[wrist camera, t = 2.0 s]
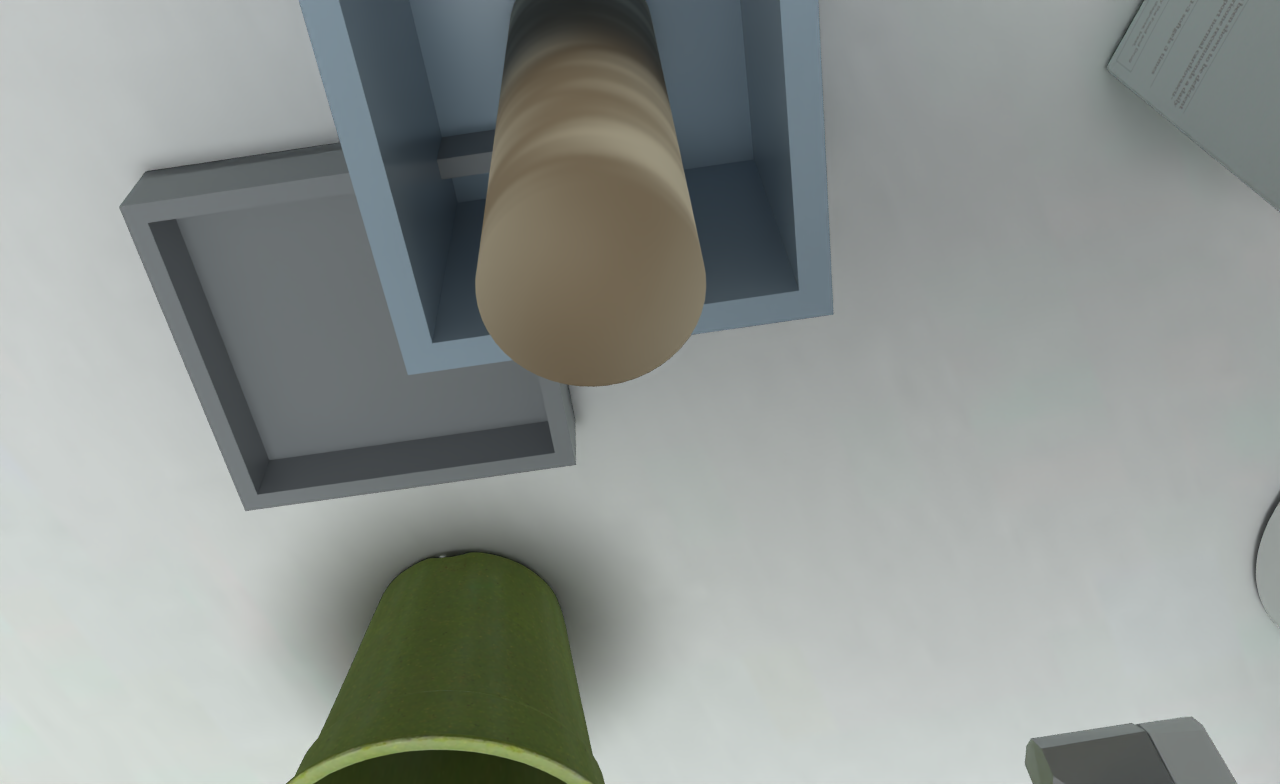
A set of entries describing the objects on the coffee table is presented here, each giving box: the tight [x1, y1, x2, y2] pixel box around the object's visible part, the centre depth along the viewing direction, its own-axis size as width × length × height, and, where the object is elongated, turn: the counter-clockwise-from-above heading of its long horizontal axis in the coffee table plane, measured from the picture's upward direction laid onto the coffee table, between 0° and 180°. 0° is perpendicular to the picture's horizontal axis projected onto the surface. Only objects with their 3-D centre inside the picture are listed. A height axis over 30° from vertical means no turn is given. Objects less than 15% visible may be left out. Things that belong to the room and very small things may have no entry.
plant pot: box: [286, 552, 605, 784], centre depth 41 cm, size 12×12×11 cm
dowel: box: [475, 0, 706, 387], centre depth 27 cm, size 4×4×15 cm
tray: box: [119, 130, 576, 511], centre depth 37 cm, size 11×11×2 cm
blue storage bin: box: [299, 0, 833, 375], centre depth 30 cm, size 11×11×9 cm
